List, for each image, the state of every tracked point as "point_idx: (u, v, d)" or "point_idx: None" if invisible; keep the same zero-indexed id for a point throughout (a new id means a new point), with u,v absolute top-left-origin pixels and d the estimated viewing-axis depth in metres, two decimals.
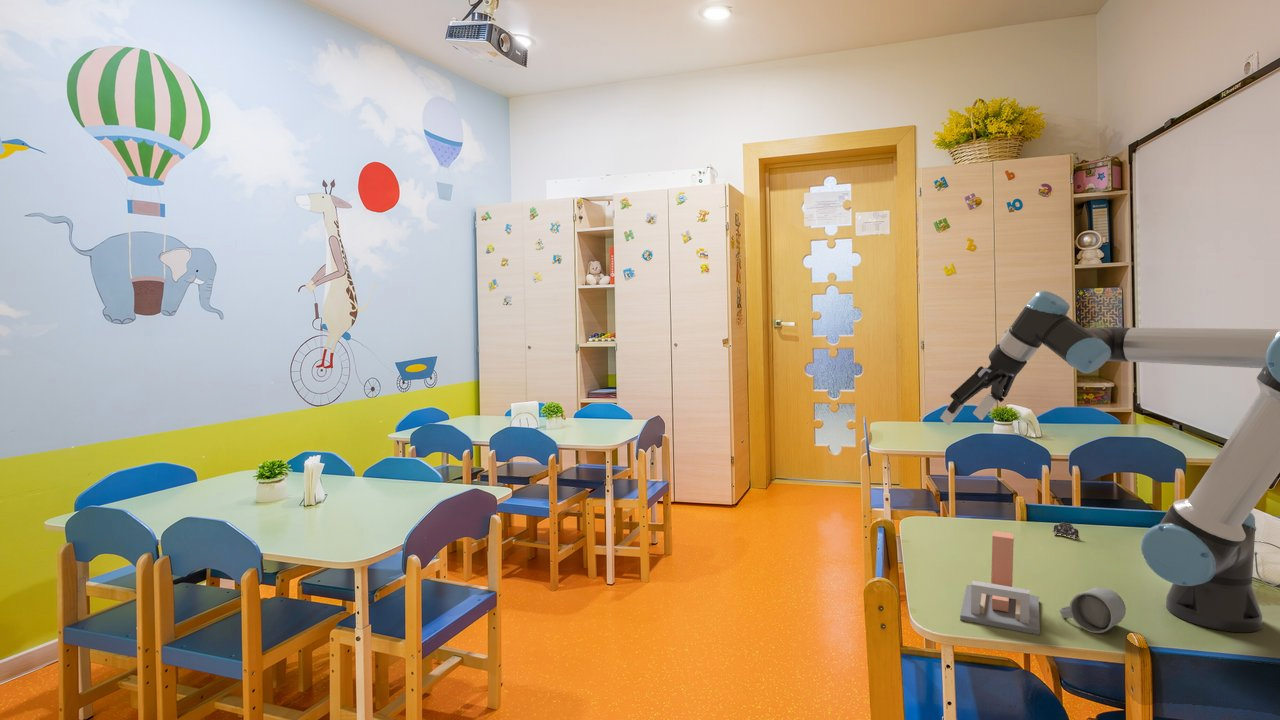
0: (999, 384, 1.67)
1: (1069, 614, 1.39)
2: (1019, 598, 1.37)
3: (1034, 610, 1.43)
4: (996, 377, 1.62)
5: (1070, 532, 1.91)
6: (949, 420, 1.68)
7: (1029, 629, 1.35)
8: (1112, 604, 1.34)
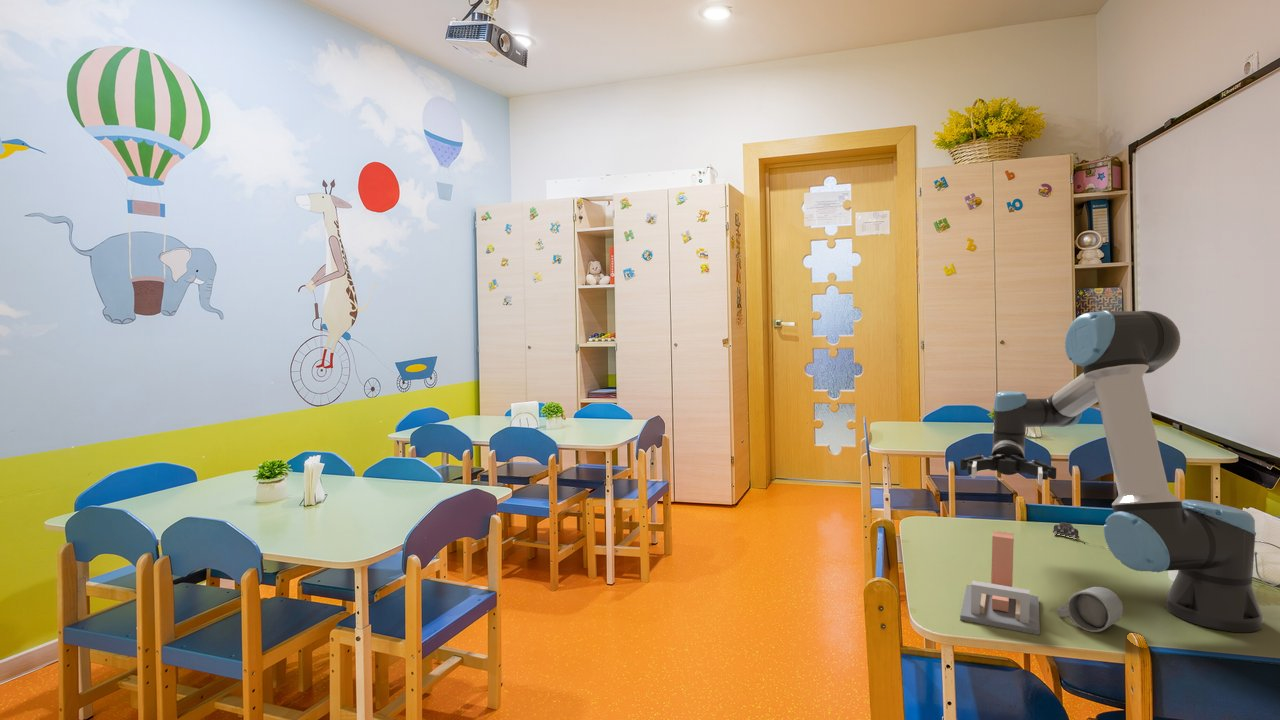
0: (1021, 462, 1.67)
1: (1066, 613, 1.40)
2: (1019, 598, 1.37)
3: (1034, 610, 1.43)
4: None
5: (1070, 532, 1.91)
6: (972, 467, 1.62)
7: (1029, 629, 1.35)
8: (1109, 603, 1.34)
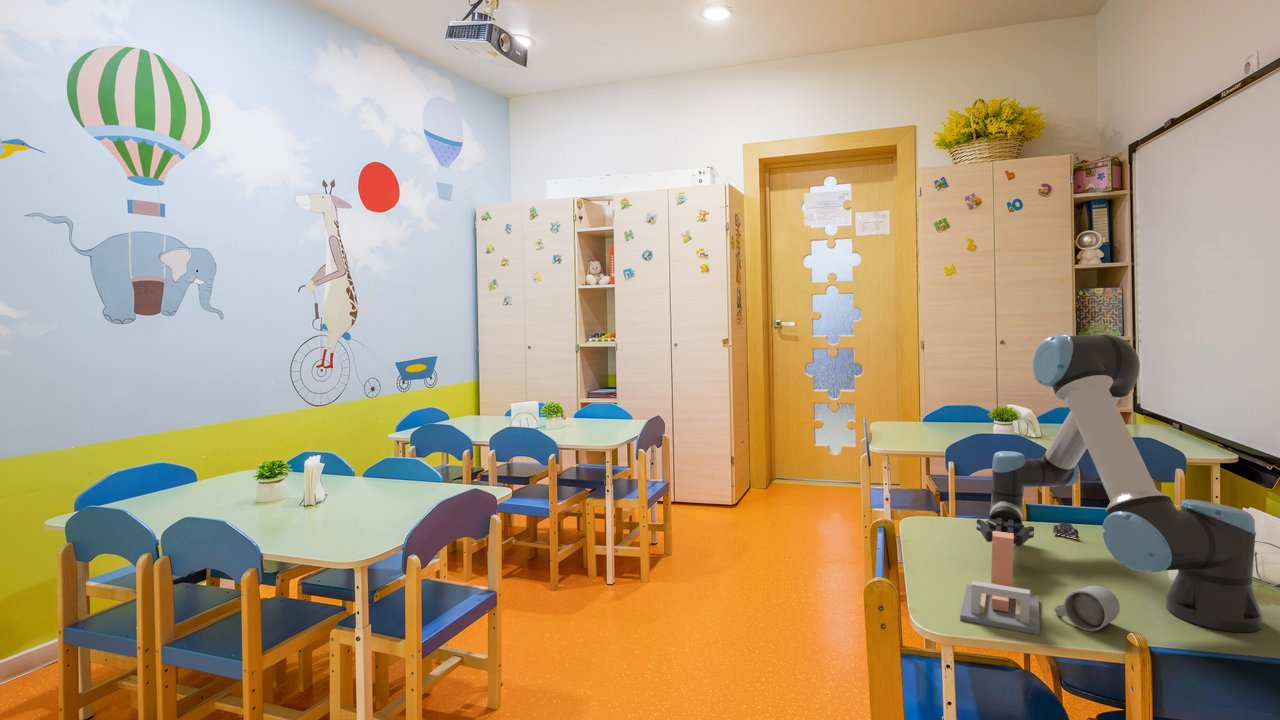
0: (1007, 527, 1.69)
1: (1063, 612, 1.40)
2: (1019, 598, 1.37)
3: (1034, 610, 1.43)
4: (996, 520, 1.73)
5: (1070, 532, 1.91)
6: None
7: (1029, 629, 1.35)
8: (1106, 602, 1.35)
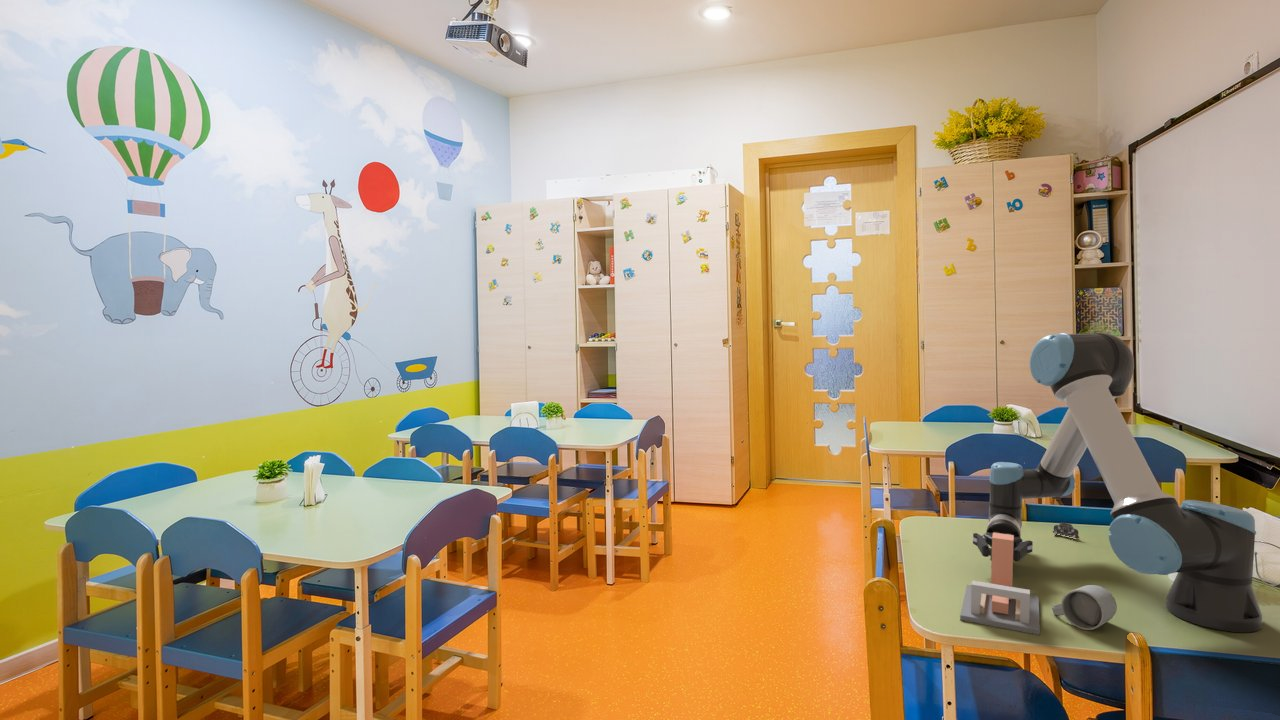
0: None
1: (1061, 611, 1.41)
2: (1019, 598, 1.37)
3: (1034, 610, 1.43)
4: None
5: (1070, 532, 1.91)
6: None
7: (1029, 629, 1.35)
8: (1103, 601, 1.35)
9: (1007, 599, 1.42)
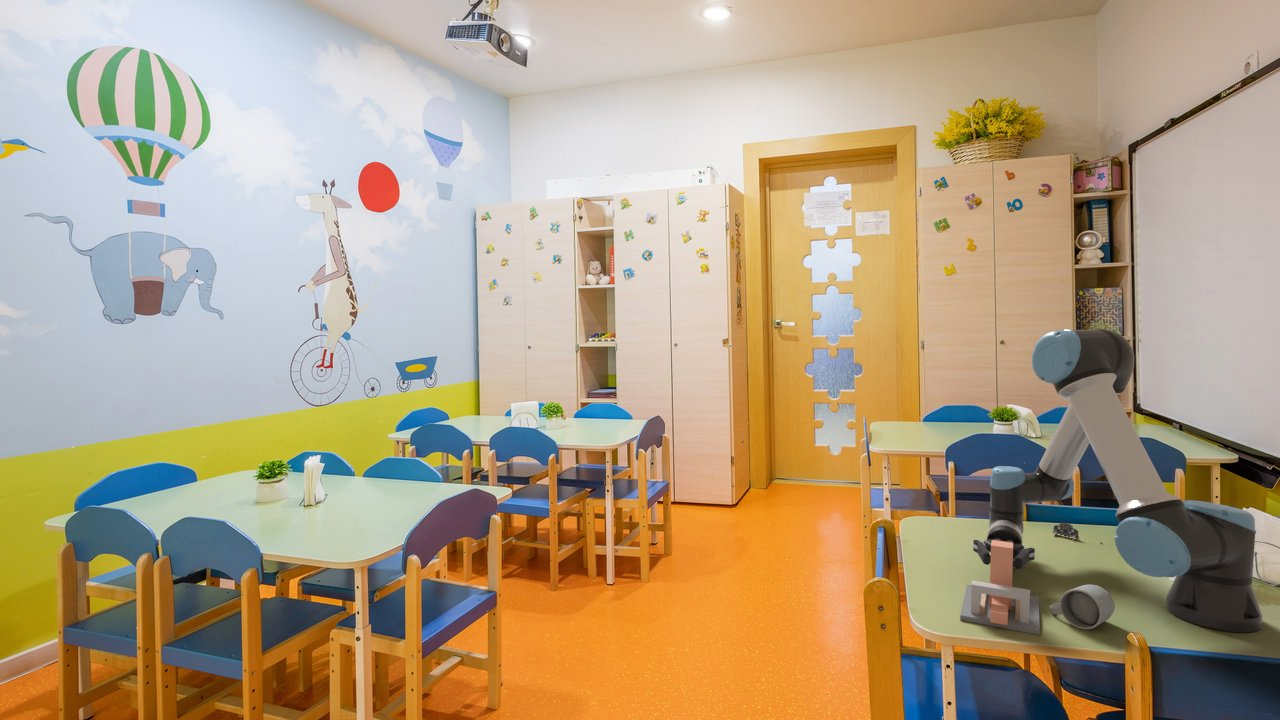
0: None
1: (1059, 611, 1.41)
2: (1019, 598, 1.37)
3: (1034, 610, 1.43)
4: None
5: (1070, 533, 1.91)
6: None
7: (1029, 629, 1.35)
8: (1101, 601, 1.35)
9: (1006, 609, 1.38)
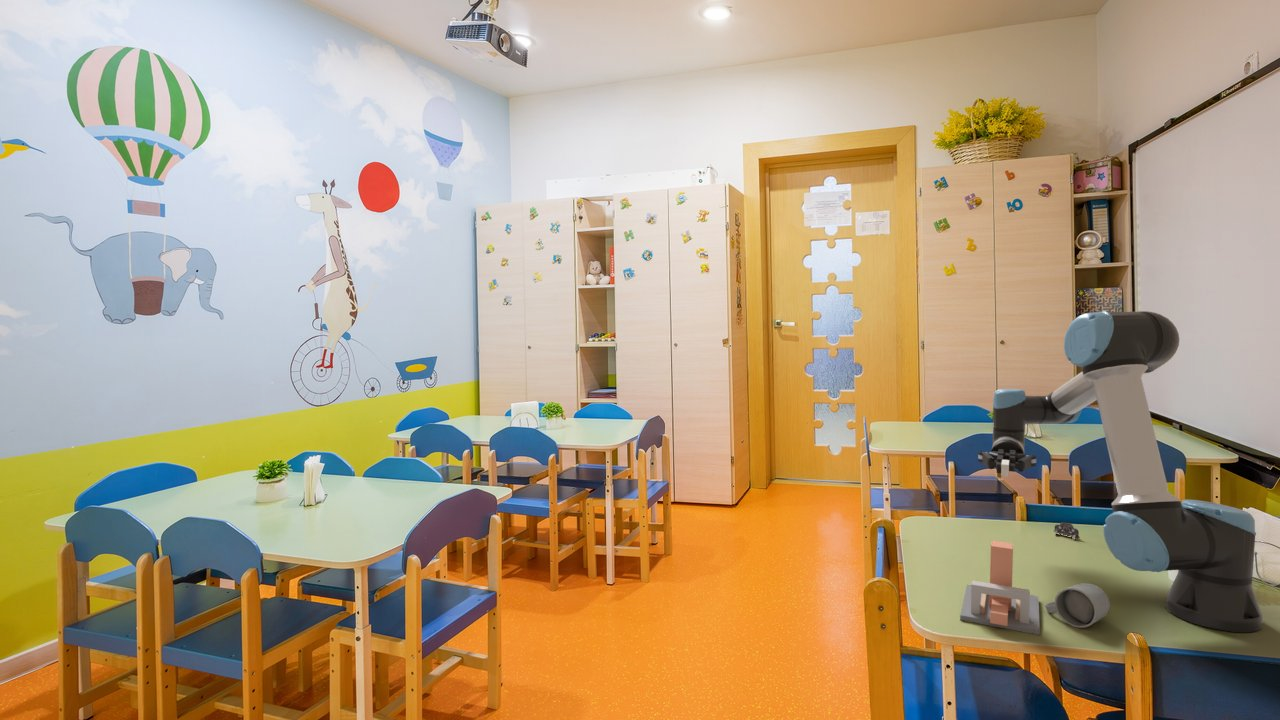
0: (1009, 456, 1.68)
1: (1054, 609, 1.42)
2: (1019, 598, 1.37)
3: (1034, 610, 1.43)
4: (998, 451, 1.72)
5: (1070, 532, 1.91)
6: None
7: (1029, 629, 1.35)
8: (1096, 599, 1.36)
9: (1006, 610, 1.37)
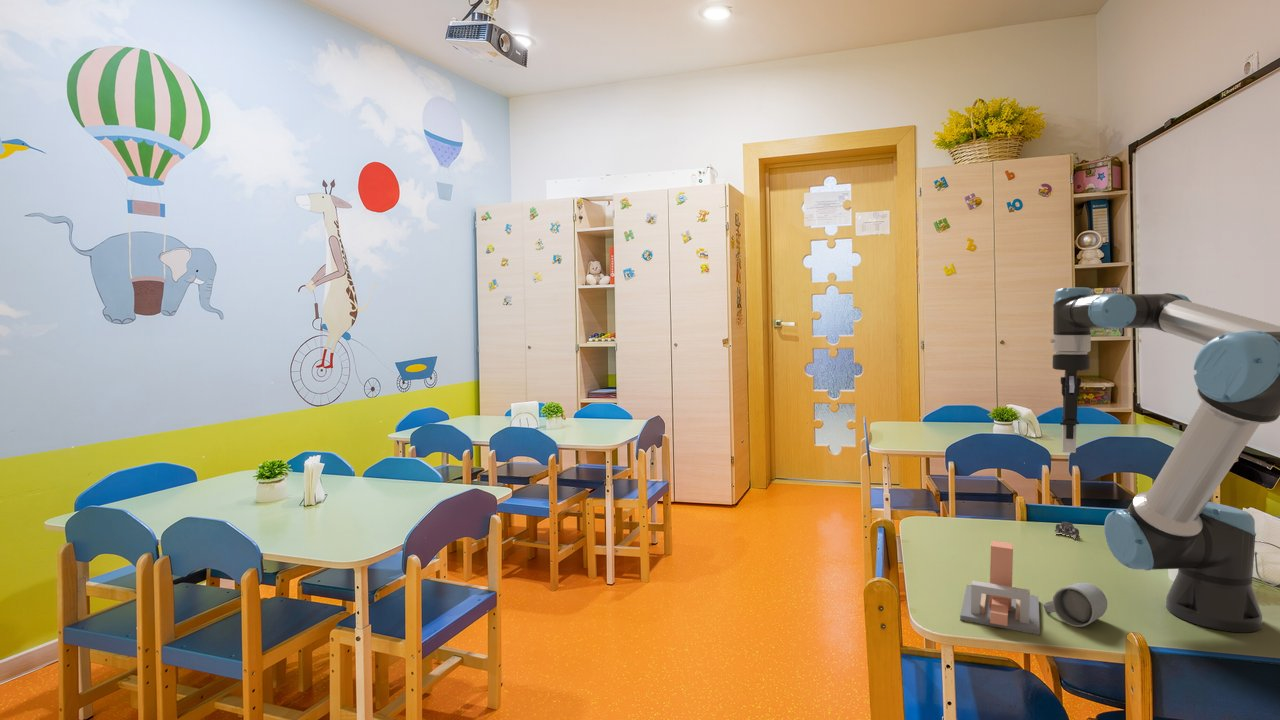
0: None
1: (1052, 608, 1.42)
2: (1019, 598, 1.37)
3: (1034, 610, 1.43)
4: (1078, 382, 1.62)
5: (1071, 532, 1.92)
6: (1074, 447, 1.64)
7: (1029, 629, 1.35)
8: (1093, 598, 1.36)
9: (1006, 610, 1.37)
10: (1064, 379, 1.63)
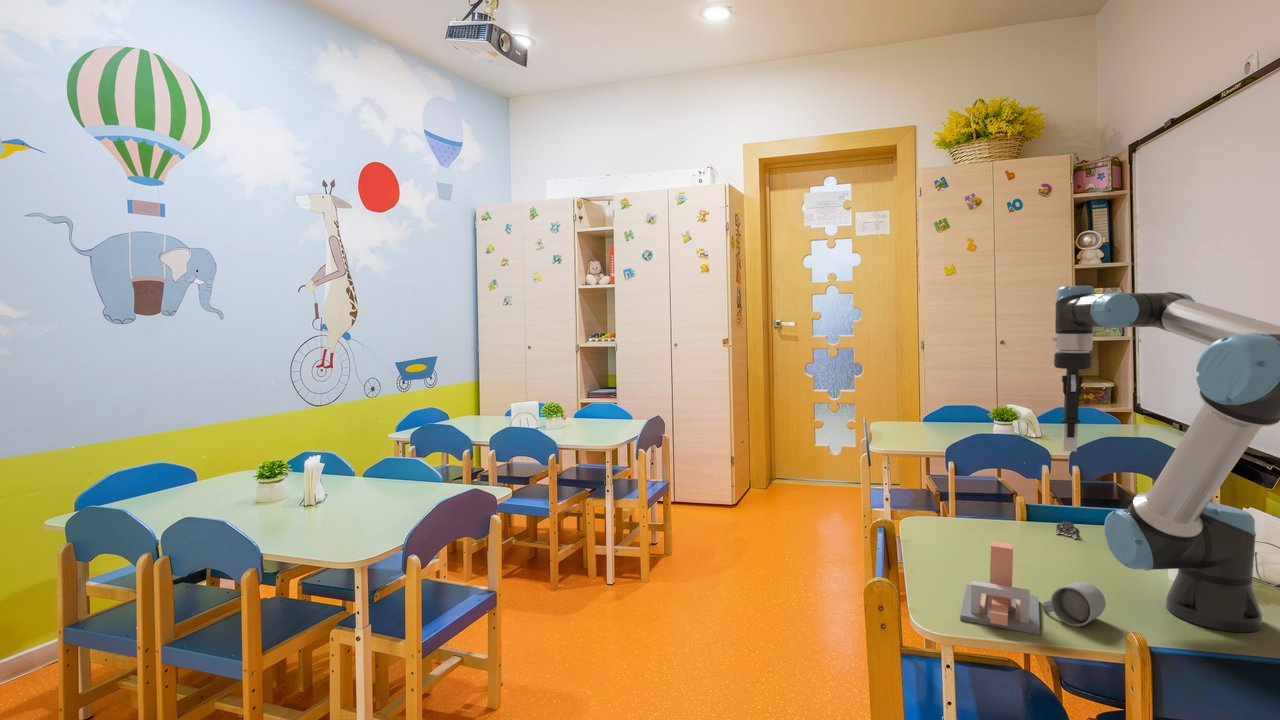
0: None
1: (1050, 608, 1.42)
2: (1019, 598, 1.37)
3: (1034, 610, 1.43)
4: (1079, 381, 1.62)
5: (1072, 532, 1.92)
6: (1075, 446, 1.64)
7: (1029, 629, 1.35)
8: (1092, 598, 1.37)
9: (1006, 610, 1.37)
10: (1066, 378, 1.63)
